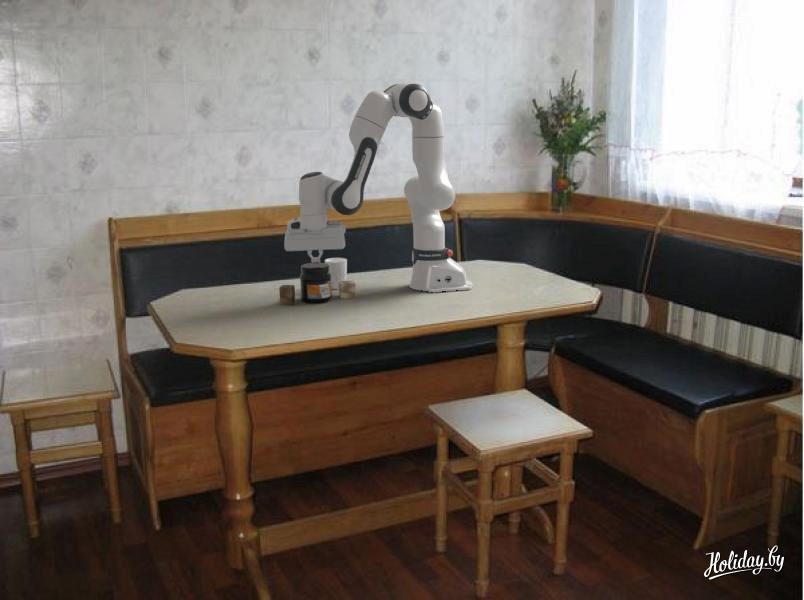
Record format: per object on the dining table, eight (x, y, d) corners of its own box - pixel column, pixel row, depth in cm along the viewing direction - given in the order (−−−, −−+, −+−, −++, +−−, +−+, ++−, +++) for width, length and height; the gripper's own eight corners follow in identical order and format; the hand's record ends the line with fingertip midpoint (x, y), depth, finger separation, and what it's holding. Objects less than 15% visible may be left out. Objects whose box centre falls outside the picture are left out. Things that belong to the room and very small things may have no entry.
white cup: (349, 284, 310) (348, 257, 307) (345, 290, 302) (345, 262, 300) (327, 284, 310) (327, 257, 308) (323, 289, 303) (322, 262, 300)
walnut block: (295, 302, 286) (294, 285, 284) (291, 305, 282) (290, 287, 280) (283, 302, 286) (283, 284, 285) (280, 305, 283) (279, 287, 281)
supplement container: (330, 304, 283) (329, 268, 280) (298, 304, 283) (297, 268, 280) (333, 296, 293) (332, 262, 290) (303, 296, 294) (301, 262, 291)
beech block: (353, 294, 296) (352, 280, 295) (356, 297, 291) (355, 283, 290) (338, 295, 295) (338, 281, 294) (341, 298, 290) (341, 284, 289)
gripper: (345, 219, 286) (346, 259, 289) (283, 221, 284) (286, 262, 288) (345, 222, 279) (347, 263, 283) (282, 224, 278) (285, 266, 281)
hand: (315, 262), depth 285 cm, fingers closed
